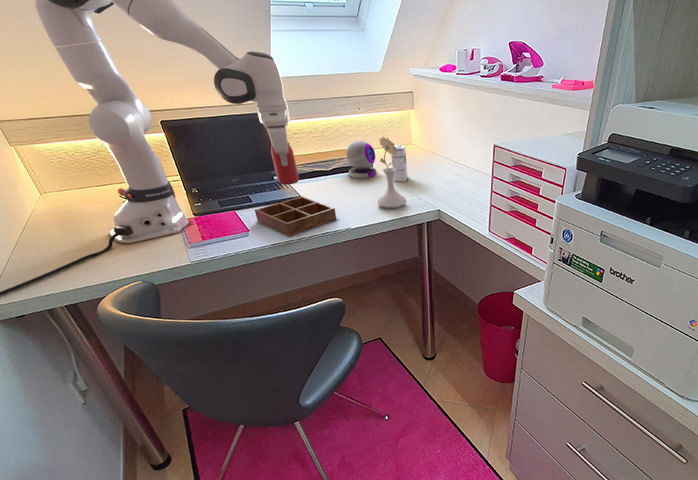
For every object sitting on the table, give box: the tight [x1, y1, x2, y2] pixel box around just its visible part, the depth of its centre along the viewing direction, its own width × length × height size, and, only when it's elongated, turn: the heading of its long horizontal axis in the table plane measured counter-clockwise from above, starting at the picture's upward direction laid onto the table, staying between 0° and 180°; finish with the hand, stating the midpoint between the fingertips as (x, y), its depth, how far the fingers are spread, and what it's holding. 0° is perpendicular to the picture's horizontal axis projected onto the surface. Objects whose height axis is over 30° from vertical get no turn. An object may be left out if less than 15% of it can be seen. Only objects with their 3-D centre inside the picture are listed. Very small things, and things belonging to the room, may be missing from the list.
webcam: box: [346, 139, 377, 179], centre depth 196 cm, size 13×13×15 cm
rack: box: [254, 195, 337, 238], centre depth 151 cm, size 19×19×4 cm
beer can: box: [270, 142, 300, 186], centre depth 136 cm, size 7×7×12 cm
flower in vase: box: [377, 136, 407, 209], centre depth 161 cm, size 13×11×25 cm
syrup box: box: [390, 144, 408, 182], centre depth 191 cm, size 6×6×14 cm
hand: (284, 162), depth 136 cm, fingers closed on beer can, 6 cm apart
